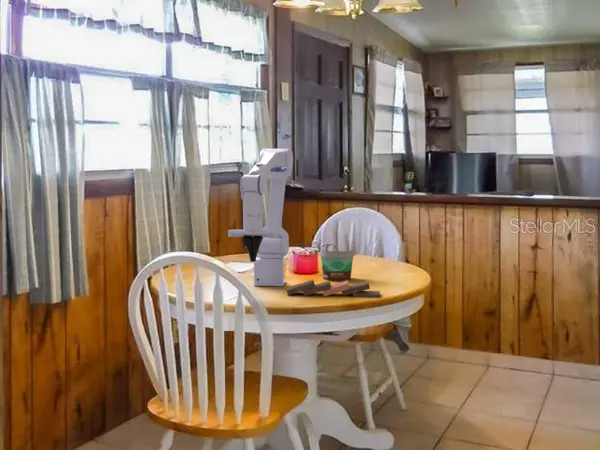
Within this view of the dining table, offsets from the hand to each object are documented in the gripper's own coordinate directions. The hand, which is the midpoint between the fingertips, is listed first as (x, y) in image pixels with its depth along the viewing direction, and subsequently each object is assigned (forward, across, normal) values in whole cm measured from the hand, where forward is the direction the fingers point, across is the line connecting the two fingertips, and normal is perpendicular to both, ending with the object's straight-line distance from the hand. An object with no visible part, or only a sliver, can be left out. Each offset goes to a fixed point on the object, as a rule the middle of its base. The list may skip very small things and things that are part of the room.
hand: (253, 261), depth 210 cm
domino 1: (+10, +10, +4) cm, 15 cm away
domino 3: (+10, +20, +4) cm, 23 cm away
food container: (+11, +24, +29) cm, 39 cm away
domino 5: (+10, +29, +4) cm, 31 cm away
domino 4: (+10, +26, +5) cm, 28 cm away
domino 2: (+10, +15, +4) cm, 18 cm away
